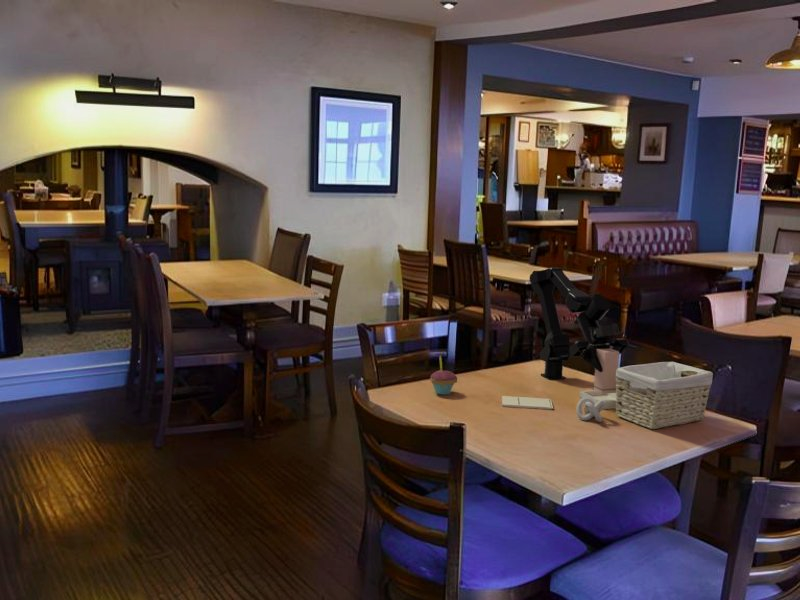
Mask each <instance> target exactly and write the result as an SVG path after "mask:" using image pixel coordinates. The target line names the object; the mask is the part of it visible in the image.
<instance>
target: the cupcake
mask: <svg viewBox="0 0 800 600" xmlns="http://www.w3.org/2000/svg"><path fill="white" fill-rule="evenodd" d="M438 359H439V370H436V371H435V372H433V373H431V375H430V382H431V384H432V386H433V388H434V391H435V392H434V393H435V394H437V395H443V396H444V395H449V394H451V392H452V389H453V386H454V385H455V384H456V383H457V382H458V377H457V375H456V374H455V373H453V372H452V371H449V370H443V361H442V360H443V359H442V356H441V355H439V358H438Z"/></svg>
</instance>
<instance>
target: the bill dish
mask: <svg viewBox="0 0 800 600" xmlns="http://www.w3.org/2000/svg"><path fill="white" fill-rule="evenodd" d="M578 398H579V399H580V400H581V399H583V398H590V399H592V400H593V401H594V403H595V405H596V403H597V402H599V401H601V400H602V401H604V402H605V405H604V407H603V409H602V410H606V409H607V410H609V409H616V393H607V394H601V393H599V392H597V391H595V390H594V389H593V390H581V391H579V397H578Z"/></svg>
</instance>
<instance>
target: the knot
mask: <svg viewBox="0 0 800 600" xmlns="http://www.w3.org/2000/svg"><path fill="white" fill-rule="evenodd" d="M604 405H605V402H604V401H602V400H601V401H599V402H597V403H596V405H595V403H594V401H593V400H592V399H590V398H583V399H581V398H580V400H579V401H578V402H577V404H576V409H575V410H576V415H577V417H578V419H579V420H581V421H585V422H586V421H590V420H591V419H592V418H593V417H595V419H596V421H597V422H598V423H601V422H603V418H602V416H601V414H600V412H601V411H603V410H604V409H603V407H604ZM583 406H584V407H583ZM582 408H584V414H585V415H584V414H583V411H582Z"/></svg>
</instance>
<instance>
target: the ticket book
mask: <svg viewBox="0 0 800 600" xmlns="http://www.w3.org/2000/svg"><path fill="white" fill-rule="evenodd" d="M501 407H506V408H507V407H509V408H522V409H523V408H525V409H535V408H537V409H538V410H539V409H540V410H551V409H553V410H554V407H553V403H552V399H551V398H539V397H526V396H525V397H524V396H523V397H522V396H511V395H510V396H508V395H501ZM537 409H536V410H537Z"/></svg>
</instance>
